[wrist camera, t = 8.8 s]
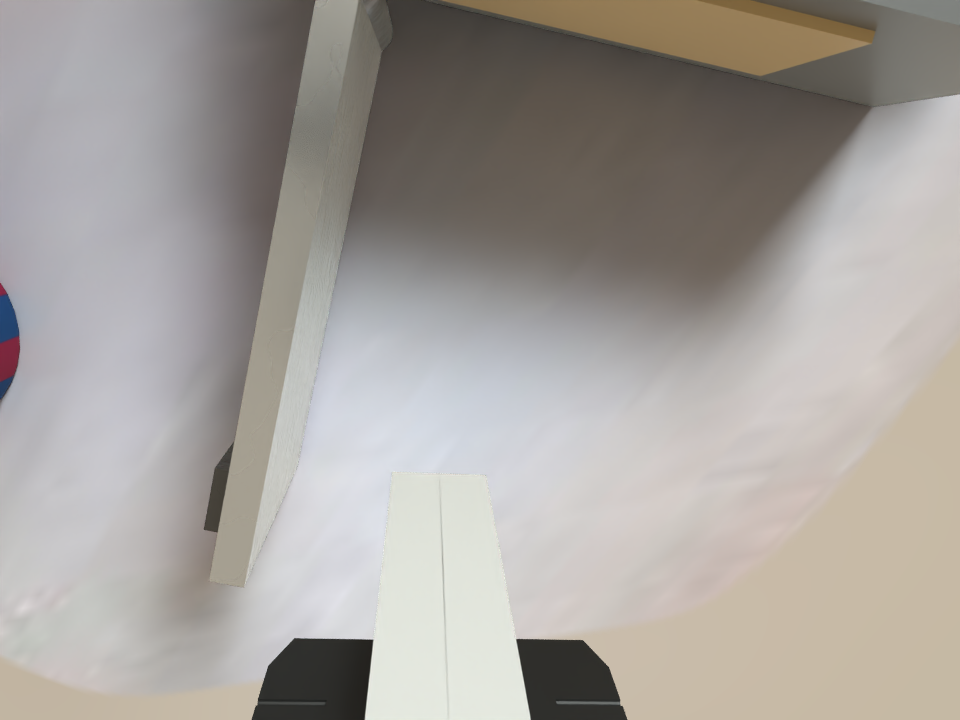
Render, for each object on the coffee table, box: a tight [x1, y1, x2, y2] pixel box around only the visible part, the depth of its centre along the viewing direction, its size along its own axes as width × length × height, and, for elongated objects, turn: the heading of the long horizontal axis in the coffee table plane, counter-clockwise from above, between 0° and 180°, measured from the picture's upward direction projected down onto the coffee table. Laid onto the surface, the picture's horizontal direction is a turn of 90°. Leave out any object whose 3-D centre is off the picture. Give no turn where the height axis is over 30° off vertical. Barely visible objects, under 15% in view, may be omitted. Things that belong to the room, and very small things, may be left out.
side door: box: [204, 0, 393, 587], centre depth 20 cm, size 14×2×8 cm, turn 166°
